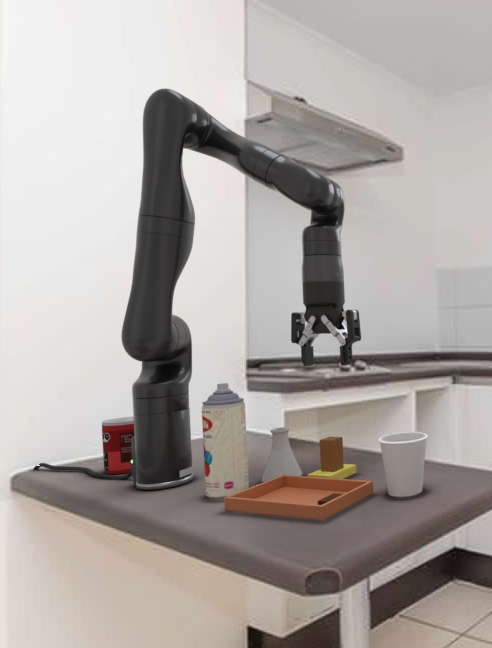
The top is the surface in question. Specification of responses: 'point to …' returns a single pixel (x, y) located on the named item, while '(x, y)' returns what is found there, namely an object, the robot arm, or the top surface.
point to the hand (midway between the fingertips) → (326, 365)
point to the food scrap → (328, 498)
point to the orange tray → (298, 496)
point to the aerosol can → (224, 443)
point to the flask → (281, 457)
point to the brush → (333, 460)
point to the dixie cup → (404, 462)
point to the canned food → (117, 444)
